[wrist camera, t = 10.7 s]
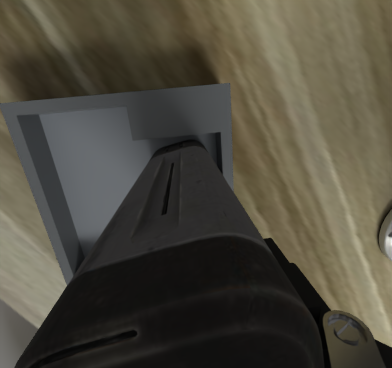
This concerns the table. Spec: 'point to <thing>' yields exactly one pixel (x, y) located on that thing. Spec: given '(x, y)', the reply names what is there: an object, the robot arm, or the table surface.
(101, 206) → the keyhole dock
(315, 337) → the electronic device
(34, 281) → the table surface
